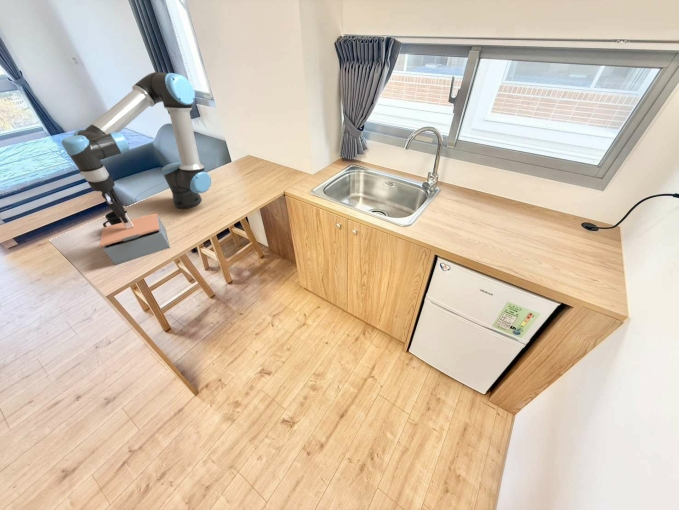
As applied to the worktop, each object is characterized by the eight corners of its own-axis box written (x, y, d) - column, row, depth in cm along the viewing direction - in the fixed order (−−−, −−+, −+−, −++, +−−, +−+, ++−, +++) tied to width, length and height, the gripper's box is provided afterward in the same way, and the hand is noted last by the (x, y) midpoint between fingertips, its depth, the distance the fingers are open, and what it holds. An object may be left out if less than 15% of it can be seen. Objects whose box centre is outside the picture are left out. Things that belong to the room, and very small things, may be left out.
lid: (104, 229, 122) (103, 227, 122) (157, 214, 131) (156, 213, 131) (100, 248, 109) (99, 246, 109) (159, 230, 118) (158, 228, 117)
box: (115, 243, 128) (104, 228, 122) (165, 229, 137) (157, 214, 131) (115, 265, 117) (103, 249, 111) (169, 247, 126) (161, 232, 120)
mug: (106, 237, 132) (94, 221, 126) (124, 224, 141) (114, 208, 135) (120, 239, 131) (108, 223, 125) (138, 225, 140) (128, 210, 133)
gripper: (88, 174, 107) (120, 222, 122) (85, 187, 99) (120, 237, 114) (110, 170, 110) (138, 218, 125) (109, 182, 102) (140, 231, 117)
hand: (130, 227), depth 120 cm, fingers closed
